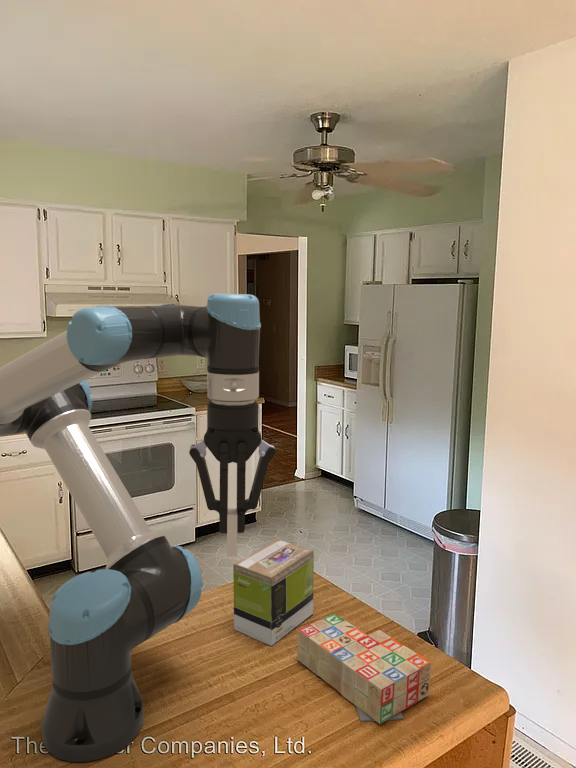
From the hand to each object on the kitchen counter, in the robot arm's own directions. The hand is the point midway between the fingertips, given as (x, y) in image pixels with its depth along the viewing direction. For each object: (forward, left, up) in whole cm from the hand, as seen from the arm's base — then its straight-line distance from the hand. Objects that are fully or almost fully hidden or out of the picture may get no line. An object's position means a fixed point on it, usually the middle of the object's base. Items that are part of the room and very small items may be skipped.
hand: (231, 552), depth 92 cm
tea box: (-15, +25, -29) cm, 41 cm away
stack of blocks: (+8, +17, -25) cm, 31 cm away
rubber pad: (+13, +21, -28) cm, 37 cm away
